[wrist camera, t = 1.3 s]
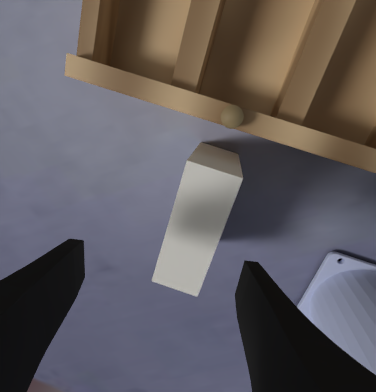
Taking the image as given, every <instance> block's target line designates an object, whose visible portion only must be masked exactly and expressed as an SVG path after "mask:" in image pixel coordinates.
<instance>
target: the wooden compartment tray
mask: <svg viewBox="0 0 376 392" xmlns="http://www.w3.org/2000/svg"><path fill="white" fill-rule="evenodd" d="M65 76H68V77H71V78H74V79H78V80H81V81H84V82H87V83H90V84H93V85H97V86H100V87H103V88H106V89H109V90H112V91H116V92H119V93H122V94H125V95H128V96H132V97H135V98H138V99H141V100H144V101H147V102H151V103H154V104H157V105H160V106H163V107H167V108H170V109H173V110H176V111H179V112H182V113H186V114H189V115H192V116H195V117H198V118H202V119H205V120H208V121H211V122H214V123H217V124H221V125H224V126H225V127H227V128H230V129H237V130H240V131H243V132H246V133H249V134H252V135H256V136H259V137H262V138H265V139H268V140H271V141H275V142H278V143H281V144H284V145H287V146H291V147H294V148H297V149H300V150H303V151H306V152H310V153H313V154H316V155H319V156H322V157H326V158H329V159H332V160H335V161H338V162H341V163H345V164H348V165H351V166H354V167H357V168H361V169H364V170H367V171H370V172H373V173H376V0H83V2H82V11H81V20H80V29H79V38H78V47H77V56H75V55H72V54H68V53H67V56H66V66H65Z"/></svg>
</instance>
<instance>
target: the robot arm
mask: <svg viewBox="0 0 376 392" xmlns="http://www.w3.org/2000/svg"><path fill="white" fill-rule="evenodd" d="M340 258H342V260H341V261H337V260H338V259H340ZM84 278H85V266H84V240H76V239H68V240H67V241H65V242H63V243H62V244H60V245H59V246H57V247H55V248H54V249H52V250H51V251H49V252H48V253H46V254H45V255H43V256H41V257H40V258H38V259H37V260H35V261H33V262H32V263H30V264H28V265H27V266H25V267H23V268H22V269H20V270H18V271H16V272H15V273H13V274H11V275H9V276H8V277H6V278H4V279H2V280H0V392H27V390H28V388H29V385H30V383H31V381H32V379H33V377H34V375H35V373H36V370H37V368H38V366H39V364H40V362H41V360H42V358H43V356H44V354H45V352H46V350H47V348H48V346H49V345H50V343H51V341H52V339H53V338H54V336H55V334H56V332H57V331H58V329H59V327H60V325H61V324H62V322H63V320H64V318H65V317H66V315H67V313H68V311H69V310H70V308H71V306H72V304H73V303H74V301H75V299H76V297H77V295H78V292H79V290H80V288H81V285H82V283H83V280H84ZM235 300H236V311H237V319H238V323H239V328H240V333H241V337H242V342H243V346H244V351H245V355H246V360H247V364H248V369H249V374H250V379H251V386H252V392H376V265H375V264H372V263H369V262H366V261H363V260H360V259H357V258H353V257H350V256H347V255H344V254H341V253H338V252H334V251H333V252H330V253H328V254H327V256H326V257H325V259H324V261H323V263H322V264H321V266H320V268H319V269H318V271H317V273H316V275H315V276H314V278H313V280H312V281H311V283H310V285H309V287H308V288H307V290H306V292H305V293H304V295H303V297H302V299H301V300H300V302H299V304H298V305H297V307H296V306H295V305H294V304H293V302H292V301H291V300H290V299H289V298H288V297H287V296H286V295H285V294H284V292H283V291H282V290H281V289H280V288H279V287H278V285H277V284H276V283H275V282H274V281H273V279H272V278H271V277H270V276H269V275H268V273H267V272H266V271H265V270H264V269H263V267H262V266H261V265H260V264H259V263H258V262H253V261H244V265H243V268H242V272H241V275H240V279H239V282H238V286H237V289H236V293H235Z"/></svg>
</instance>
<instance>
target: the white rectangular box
mask: <svg viewBox="0 0 376 392" xmlns="http://www.w3.org/2000/svg"><path fill="white" fill-rule="evenodd" d="M242 180H243V175H242V170H241V165H240V159H239V154H237V153H233V152H230V151H227V150H224V149H221V148H218V147H215V146H211V145H208V144H205V143H202V142H201V143H200V144H199V145H198V147H197V148H196V149H195V151H194V152H193V153H192V154H191V156H190V157H189V158H188V160H187V162H186V166H185V169H184V172H183V176H182V179H181V183H180V186H179V190H178V193H177V196H176V200H175V203H174V207H173V210H172V213H171V217H170V220H169V224H168V227H167V230H166V234H165V237H164V241H163V244H162V248H161V251H160V254H159V258H158V261H157V265H156V268H155V271H154V275H153V278H152V281H153V282H156V283H159V284H162V285H164V286H167V287H170V288H173V289H176V290H179V291H182V292H185V293H188V294H191V295H193V296H196V297H198V294H199V291H200V289H201V286H202V284H203V281H204V279H205V276H206V273H207V271H208V268H209V266H210V263H211V260H212V258H213V255H214V253H215V250H216V248H217V245H218V242H219V240H220V237H221V235H222V232H223V229H224V227H225V224H226V222H227V219H228V217H229V214H230V211H231V209H232V206H233V204H234V201H235V199H236V196H237V193H238V191H239V188H240V186H241V183H242Z"/></svg>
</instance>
